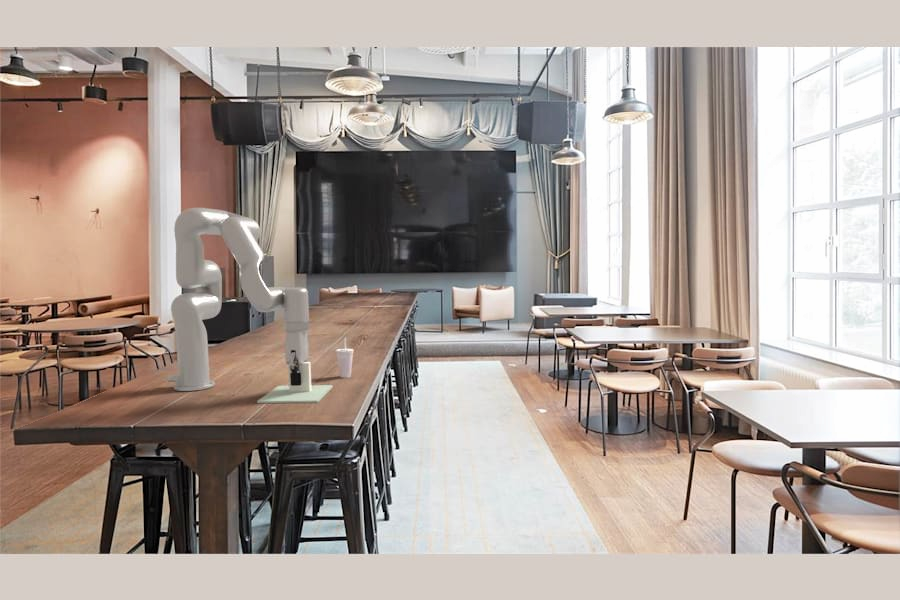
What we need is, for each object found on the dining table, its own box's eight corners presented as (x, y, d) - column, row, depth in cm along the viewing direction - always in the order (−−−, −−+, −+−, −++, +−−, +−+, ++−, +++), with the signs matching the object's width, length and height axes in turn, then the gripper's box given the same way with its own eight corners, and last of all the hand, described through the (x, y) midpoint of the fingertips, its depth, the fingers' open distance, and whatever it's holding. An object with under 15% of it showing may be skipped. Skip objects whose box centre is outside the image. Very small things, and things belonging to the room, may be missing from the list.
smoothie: (342, 379, 203) (340, 339, 202) (333, 376, 208) (331, 337, 207) (357, 376, 207) (356, 337, 206) (348, 373, 212) (347, 335, 211)
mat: (257, 403, 172) (257, 401, 172) (278, 387, 192) (278, 385, 192) (317, 402, 172) (317, 400, 172) (332, 386, 192) (332, 385, 192)
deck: (289, 391, 184) (288, 363, 183) (291, 389, 186) (290, 362, 185) (309, 391, 183) (308, 363, 183) (311, 389, 186) (310, 361, 185)
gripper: (293, 323, 192) (295, 377, 193) (276, 330, 175) (278, 389, 176) (315, 323, 192) (317, 376, 193) (301, 330, 175) (303, 389, 176)
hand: (299, 382), depth 185 cm, fingers open, 6 cm apart
